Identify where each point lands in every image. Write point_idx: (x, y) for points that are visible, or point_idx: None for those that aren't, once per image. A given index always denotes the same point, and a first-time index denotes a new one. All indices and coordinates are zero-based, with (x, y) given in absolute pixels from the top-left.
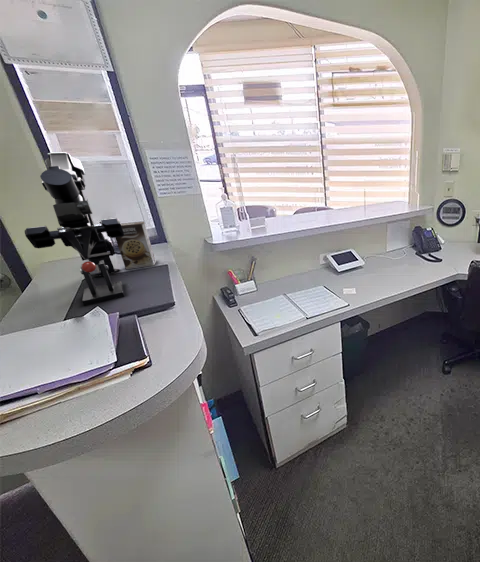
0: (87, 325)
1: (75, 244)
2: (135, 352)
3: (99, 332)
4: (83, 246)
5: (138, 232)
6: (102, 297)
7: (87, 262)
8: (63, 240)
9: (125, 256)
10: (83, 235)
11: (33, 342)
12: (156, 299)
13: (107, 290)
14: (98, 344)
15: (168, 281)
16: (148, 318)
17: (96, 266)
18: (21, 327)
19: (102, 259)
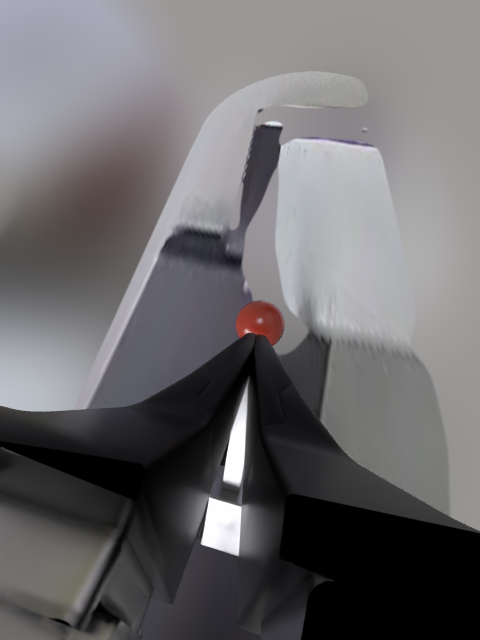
0: (297, 269)
1: (287, 394)
2: (263, 141)
3: (286, 225)
4: (240, 365)
5: None
6: None
7: (259, 309)
8: (413, 602)
9: None
10: (175, 423)
11: (373, 267)
12: (173, 295)
13: (227, 447)
14: (292, 188)
15: (92, 408)
16: (218, 218)
17: (217, 489)
18: (406, 372)
19: None
